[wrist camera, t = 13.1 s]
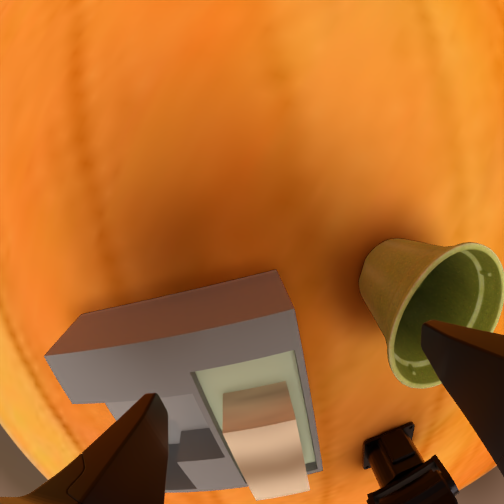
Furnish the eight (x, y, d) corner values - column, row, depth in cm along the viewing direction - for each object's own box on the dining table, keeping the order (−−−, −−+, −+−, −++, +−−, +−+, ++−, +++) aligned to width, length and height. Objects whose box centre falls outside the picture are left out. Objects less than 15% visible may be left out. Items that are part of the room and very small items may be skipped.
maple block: (301, 457, 20) (310, 490, 17) (252, 467, 20) (256, 500, 17) (285, 380, 18) (295, 419, 14) (222, 393, 18) (222, 433, 14)
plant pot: (447, 283, 23) (511, 323, 15) (368, 347, 24) (414, 411, 16) (410, 194, 21) (489, 210, 13) (315, 265, 22) (362, 319, 13)
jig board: (307, 420, 26) (323, 470, 20) (154, 444, 26) (144, 492, 19) (276, 269, 22) (294, 308, 15) (81, 314, 22) (44, 355, 15)
